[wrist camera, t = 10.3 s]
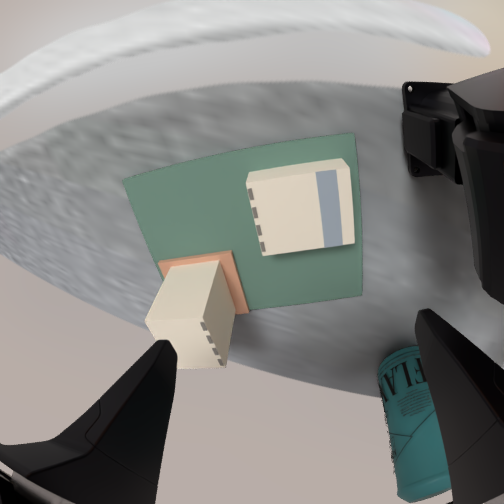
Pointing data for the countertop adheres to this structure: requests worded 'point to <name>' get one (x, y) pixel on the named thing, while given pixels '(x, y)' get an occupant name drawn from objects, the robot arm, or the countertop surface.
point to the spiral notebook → (302, 206)
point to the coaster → (228, 270)
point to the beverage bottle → (413, 427)
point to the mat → (247, 221)
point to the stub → (194, 315)
